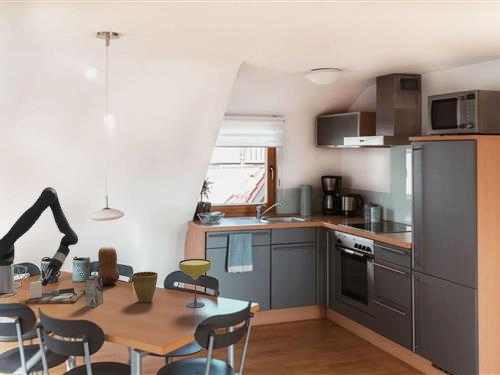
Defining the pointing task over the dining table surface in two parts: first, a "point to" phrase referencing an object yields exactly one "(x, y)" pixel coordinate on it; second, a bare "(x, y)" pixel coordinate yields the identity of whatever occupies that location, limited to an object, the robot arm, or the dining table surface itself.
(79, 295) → the board
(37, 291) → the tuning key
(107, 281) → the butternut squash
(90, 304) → the coffee box
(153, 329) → the dining table surface
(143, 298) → the plant pot
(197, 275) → the cocktail glass
